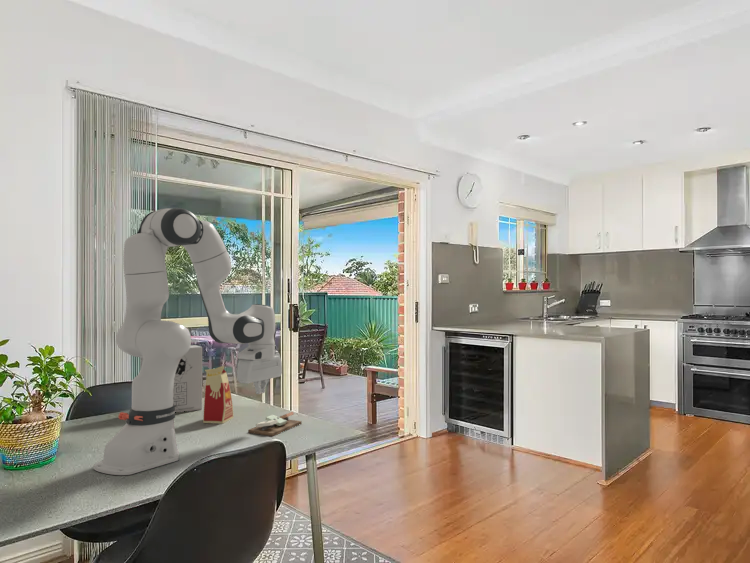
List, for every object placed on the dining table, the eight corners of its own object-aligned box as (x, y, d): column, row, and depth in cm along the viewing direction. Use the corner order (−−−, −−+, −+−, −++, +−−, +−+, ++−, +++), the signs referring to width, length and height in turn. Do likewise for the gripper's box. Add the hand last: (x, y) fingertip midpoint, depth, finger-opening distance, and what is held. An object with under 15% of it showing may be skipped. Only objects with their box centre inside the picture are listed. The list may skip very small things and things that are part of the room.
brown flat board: (273, 436, 169) (273, 429, 169) (248, 432, 174) (248, 425, 174) (301, 423, 185) (301, 417, 185) (278, 421, 189) (278, 414, 189)
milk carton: (233, 417, 194) (233, 363, 195) (224, 423, 185) (224, 367, 185) (210, 416, 195) (210, 363, 195) (199, 423, 186) (199, 367, 186)
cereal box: (196, 406, 213) (197, 345, 214) (202, 409, 207) (202, 346, 207) (139, 413, 201) (140, 348, 201) (143, 417, 195) (144, 350, 195)
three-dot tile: (287, 416, 181) (286, 413, 181) (274, 422, 183) (273, 419, 183) (293, 414, 184) (292, 411, 185) (281, 419, 187) (279, 416, 187)
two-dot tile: (279, 425, 176) (280, 422, 176) (265, 419, 179) (265, 416, 179) (286, 423, 180) (286, 420, 180) (272, 417, 182) (272, 414, 182)
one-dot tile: (270, 425, 172) (270, 422, 172) (256, 427, 174) (255, 424, 174) (277, 422, 175) (277, 419, 175) (263, 424, 178) (262, 421, 178)
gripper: (272, 349, 187) (271, 388, 186) (234, 354, 168) (233, 397, 168) (286, 350, 184) (285, 389, 183) (250, 355, 165) (248, 399, 165)
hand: (260, 393), depth 175 cm, fingers closed
